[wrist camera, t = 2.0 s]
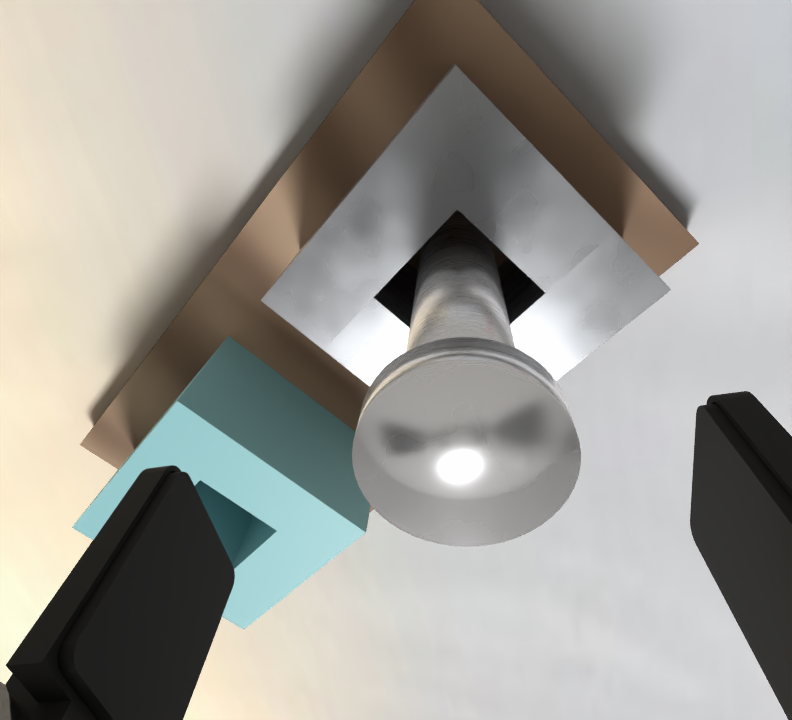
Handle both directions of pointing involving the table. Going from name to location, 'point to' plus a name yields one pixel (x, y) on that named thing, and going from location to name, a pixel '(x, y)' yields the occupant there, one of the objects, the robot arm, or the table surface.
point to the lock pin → (464, 411)
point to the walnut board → (335, 175)
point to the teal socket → (254, 476)
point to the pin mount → (492, 214)
